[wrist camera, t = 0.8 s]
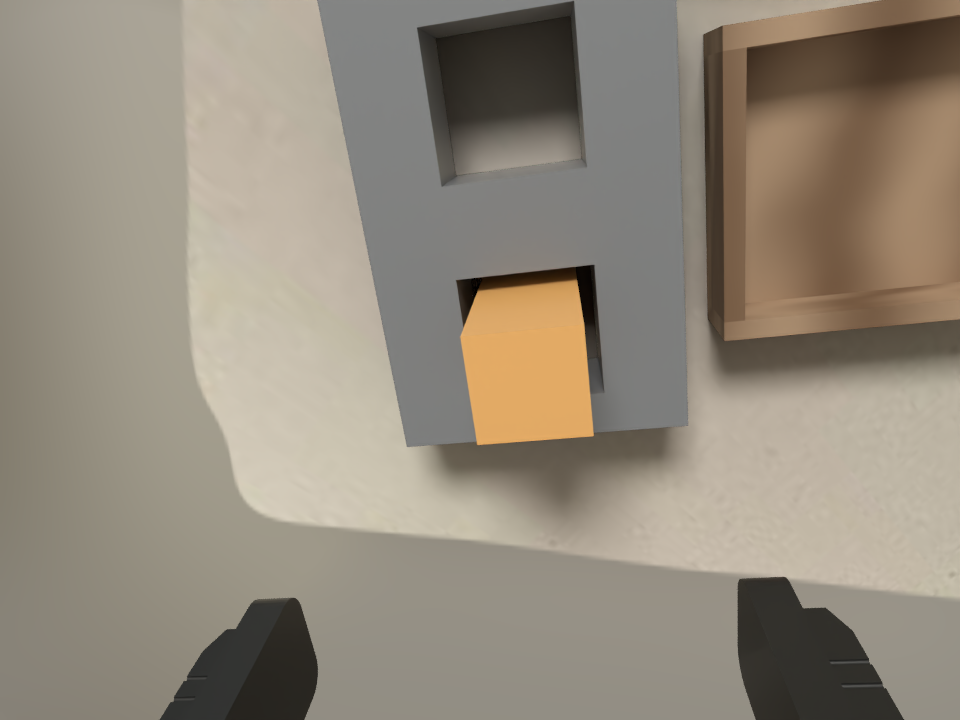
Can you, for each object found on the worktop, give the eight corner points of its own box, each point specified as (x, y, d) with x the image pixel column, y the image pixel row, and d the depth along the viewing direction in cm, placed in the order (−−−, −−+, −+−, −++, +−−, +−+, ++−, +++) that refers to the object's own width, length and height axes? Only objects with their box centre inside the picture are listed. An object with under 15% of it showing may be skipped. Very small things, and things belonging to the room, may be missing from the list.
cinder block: (655, -53, 24) (674, -81, 21) (671, 386, 31) (688, 425, 27) (347, 2, 26) (314, -15, 22) (423, 407, 32) (407, 446, 29)
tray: (1035, -18, 24) (1100, -35, 21) (990, 290, 28) (1040, 312, 25) (703, 34, 25) (722, 25, 22) (707, 318, 29) (724, 341, 26)
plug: (573, 260, 29) (584, 324, 21) (581, 344, 30) (593, 436, 22) (485, 271, 29) (460, 336, 21) (496, 353, 31) (477, 445, 23)
